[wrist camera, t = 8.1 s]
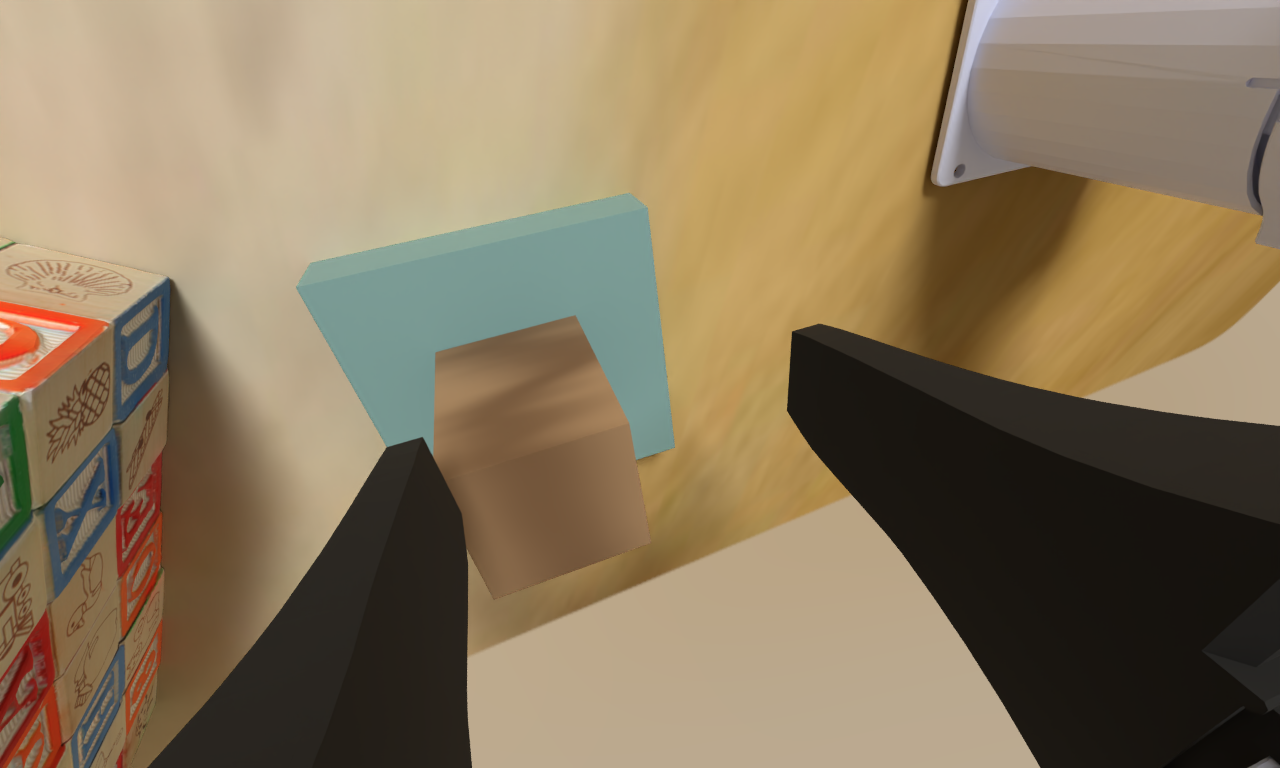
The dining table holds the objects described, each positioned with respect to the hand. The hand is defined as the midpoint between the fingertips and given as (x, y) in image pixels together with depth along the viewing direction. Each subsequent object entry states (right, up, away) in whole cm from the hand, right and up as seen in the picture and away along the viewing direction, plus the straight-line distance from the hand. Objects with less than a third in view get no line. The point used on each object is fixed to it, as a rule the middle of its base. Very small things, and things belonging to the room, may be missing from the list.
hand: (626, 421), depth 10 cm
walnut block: (-4, +1, +8) cm, 8 cm away
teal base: (-4, +2, +10) cm, 11 cm away
